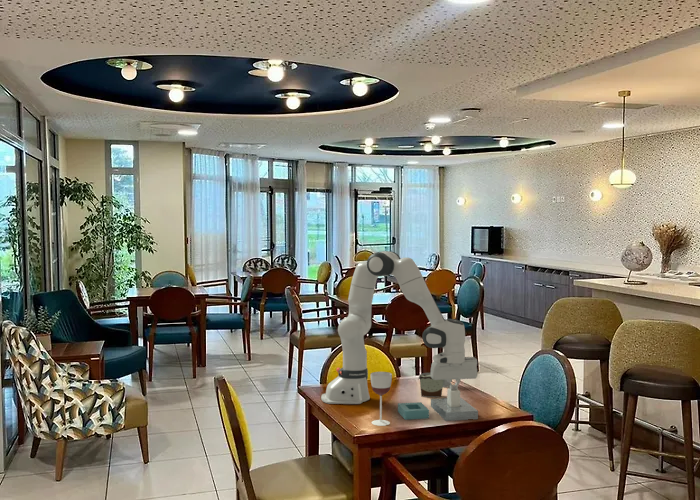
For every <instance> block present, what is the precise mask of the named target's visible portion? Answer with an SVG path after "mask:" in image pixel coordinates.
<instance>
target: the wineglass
mask: <svg viewBox="0 0 700 500" xmlns="http://www.w3.org/2000/svg"><path fill="white" fill-rule="evenodd" d="M392 377H393V373H391V372H387V371H375V372H371V373H370V383H371V388H372V391H373V392H374V393H375V394H377V395H379V419H375V420H372V421H371V424H372V425H374V426H378V427H381V426H383V427H385V426H388V425H390V424H391V422H390V421H389V420H385V419H383V415H382V414H383V405H382V404H383V396H384V395H386V394H388V393H389V391H390V389H391V387H392V386H391V385H392V379H393V378H392Z"/></svg>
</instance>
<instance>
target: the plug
mask: <svg viewBox="0 0 700 500" xmlns="http://www.w3.org/2000/svg"><path fill="white" fill-rule="evenodd" d="M446 392H447V394H446V395H447V396H446V398H447V405H448V406H449V407H460V398H461V391H460V390H459V388H458V389H456V390H451V389H450V387H447V391H446Z"/></svg>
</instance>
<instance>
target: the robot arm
mask: <svg viewBox="0 0 700 500" xmlns="http://www.w3.org/2000/svg"><path fill="white" fill-rule="evenodd" d="M388 276H393V277H394V278H395V279H396V281H397V283H398V286H399V288H400V290H401V292H402V295H404V297H405V299H406V300H407V301H409V302H411V303H414V304H416V305H418V306H420V307H421V308H422V309H423V311H424V313H425V316H426V317H427V319H428V321H429V323H430V326H428V327H427V328H425V329H424V331H423V332H422V336H421V337H422V342H423V343H424V345H425V346H426V347H427V348H429V349H437V348H438V349H439V348H442V349H443V351H442V352H440V353H438V354H435V355H433V357H432V361H433V362H432V363H431V367H430V372H429V373H430V376H431V378H432V379H433V380H447V381H448V383H449V385H450V387H449V388H450V389H451V390H456V389H458V390H459V387H458V386H459V385H460V383H461V380H468V379H469V380H471V379H472V380H473V379H477V377H478V367H477V366H478V359H477V358H476V357H475V356H465V355H466V350H465V342H466V329H465V328H466V327H465V324H464V322H462V321H461V320H458V319H456V318H447V319H445V317H444V316H443V314H442V312H441V309H440V308H439V306H438V304H437V303H436V301H435V299H434V297H433V296H432V294H431V291H430V289H429V288H428V286H427V283H426V281H425V278H424V275H423V274H422V272H421V271H420V269H419V267H418V265H417V264H416V262H415V260H414V259H413V258H410V257H402V258H401V256H400V254H398V253H397V252H395V251H392V250H389V251H388V250H383V251H377V252H374V253H372V254H371V255H370V256H368V259H367V260H366V261H361V262H359V263H357V265H356V267H355V269H354V272H353V275H352V279H351V282H350V287H349V288H350V289H349V292H348V298H347V302H348V315H347V316H346V317H344V318H343V319H342V320H341V321H340V323H339V324H338V326H337V332H338V333H337V334H338V336H339V337H340V343H341V347H342V348H341V349H342V367H341V368H340V367H336V372H337V373H338V374H337V377H335V378H334V379H333V380H331V381H330V382H329V383H328V384H327V386H326V390H325V393H322V394H321V397H320V400H321V401H322V402H323V403H325V404H330V405H331V404H332V405H334V404H335V405H336V404H337V405H339V404H341V405H342V404H343V405H360V404H362V403H363V402H367V401H369V400H370V398H371V397H370V393H369V388H368V378H369V376H368V375H369V373H368V372H369V370H368V364H367V363H368V362H367V361H368V358H367V357H368V356H367V355H368V354H367V353H368V351H367V349H366V346H365V341H364V340H365V337H364V336H365V335H366V334H367V333H369V331H370V329H371V328H372V305H373V304H372V303H373V299H374V296H375V295H374V294H375V289H376V283H377V280H378V278H379V277H388ZM453 380H455V381H456V382H455V384H453V383H452V382H453Z"/></svg>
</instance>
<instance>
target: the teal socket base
mask: <svg viewBox="0 0 700 500" xmlns="http://www.w3.org/2000/svg"><path fill="white" fill-rule="evenodd" d="M397 413H399V415H400V416H401V417H402V418H403V419H404V420H422V419H423V420H426V419H430V410H429V408H427V406H425V405H424V403H423V402H398V403H397Z"/></svg>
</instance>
